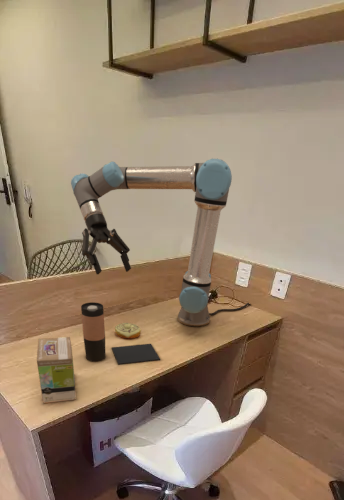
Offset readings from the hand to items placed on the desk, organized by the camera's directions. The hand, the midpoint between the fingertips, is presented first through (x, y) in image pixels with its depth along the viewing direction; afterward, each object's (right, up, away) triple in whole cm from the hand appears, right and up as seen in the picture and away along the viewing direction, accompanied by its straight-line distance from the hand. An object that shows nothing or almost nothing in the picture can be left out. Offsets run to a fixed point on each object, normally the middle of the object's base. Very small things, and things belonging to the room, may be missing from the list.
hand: (114, 271), depth 128 cm
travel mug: (-7, -33, -1) cm, 33 cm away
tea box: (-14, -44, -19) cm, 50 cm away
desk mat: (+8, -31, +3) cm, 32 cm away
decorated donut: (+3, -21, +17) cm, 28 cm away
